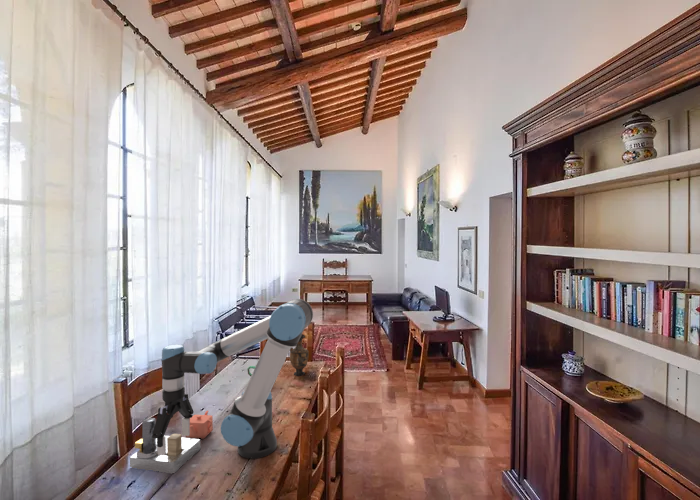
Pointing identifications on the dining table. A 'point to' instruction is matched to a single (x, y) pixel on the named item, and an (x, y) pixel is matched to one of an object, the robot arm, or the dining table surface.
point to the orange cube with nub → (200, 426)
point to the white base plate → (167, 458)
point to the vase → (299, 357)
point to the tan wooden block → (174, 445)
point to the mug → (249, 368)
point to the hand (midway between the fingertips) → (174, 444)
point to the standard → (147, 440)
